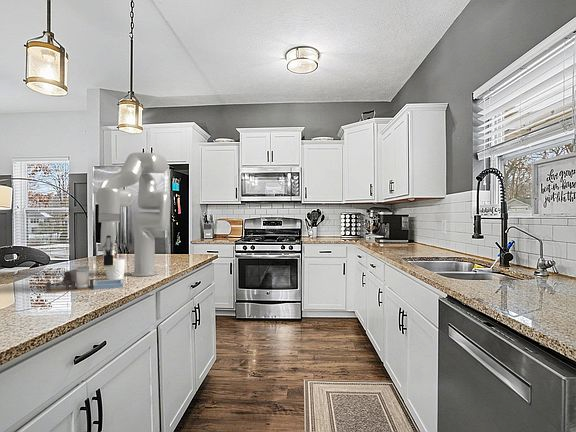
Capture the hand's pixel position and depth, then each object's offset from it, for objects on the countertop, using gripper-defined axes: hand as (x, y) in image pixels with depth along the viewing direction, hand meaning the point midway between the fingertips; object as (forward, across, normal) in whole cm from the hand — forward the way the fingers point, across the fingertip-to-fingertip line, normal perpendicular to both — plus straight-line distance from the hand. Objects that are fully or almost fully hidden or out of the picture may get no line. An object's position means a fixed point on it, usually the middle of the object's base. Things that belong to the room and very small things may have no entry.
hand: (108, 264), depth 136 cm
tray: (+10, 0, 0) cm, 10 cm away
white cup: (+10, -19, +2) cm, 22 cm away
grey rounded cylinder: (+9, 0, -9) cm, 12 cm away
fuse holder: (+10, 0, -13) cm, 16 cm away
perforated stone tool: (+10, -16, -13) cm, 23 cm away
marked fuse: (+1, 0, 0) cm, 1 cm away
